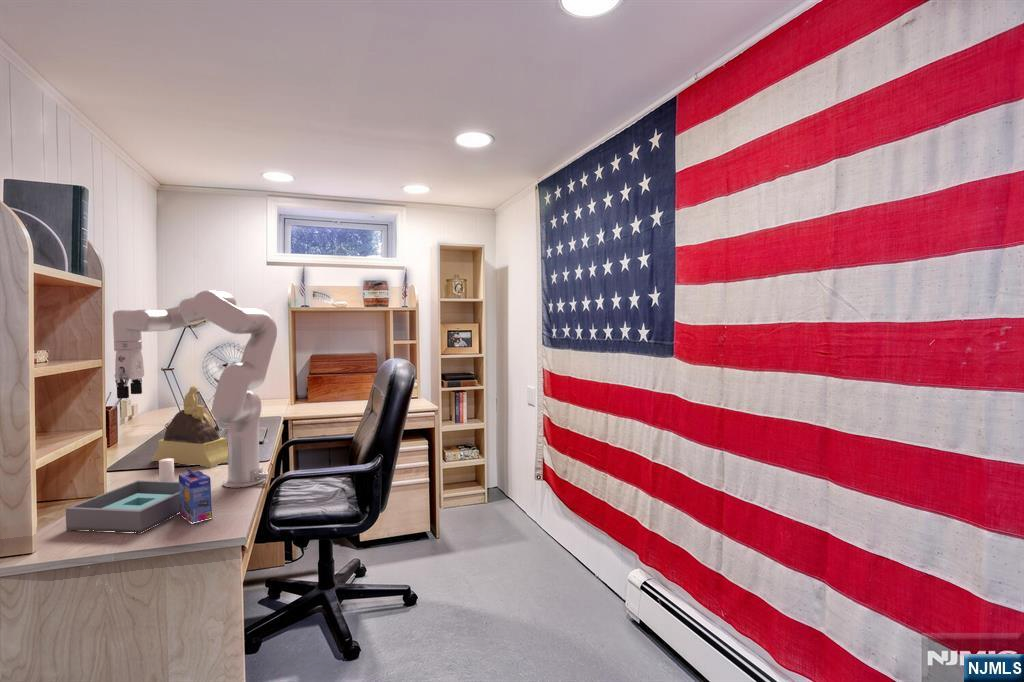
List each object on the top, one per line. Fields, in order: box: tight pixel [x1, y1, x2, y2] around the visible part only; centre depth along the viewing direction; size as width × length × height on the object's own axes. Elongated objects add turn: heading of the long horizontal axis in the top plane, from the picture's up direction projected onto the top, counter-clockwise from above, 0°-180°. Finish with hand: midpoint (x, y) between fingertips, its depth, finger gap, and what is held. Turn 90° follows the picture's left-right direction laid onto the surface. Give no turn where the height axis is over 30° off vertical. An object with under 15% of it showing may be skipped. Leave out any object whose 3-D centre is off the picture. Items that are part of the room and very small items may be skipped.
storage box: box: [65, 479, 180, 533], centre depth 141 cm, size 21×23×6 cm
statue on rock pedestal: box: [151, 385, 228, 468], centre depth 195 cm, size 28×13×30 cm, turn 76°
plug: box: [158, 458, 175, 482], centre depth 162 cm, size 4×4×10 cm
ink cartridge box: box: [178, 467, 214, 523], centre depth 140 cm, size 10×6×14 cm, turn 51°
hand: (130, 396), depth 170 cm, fingers open, 9 cm apart
